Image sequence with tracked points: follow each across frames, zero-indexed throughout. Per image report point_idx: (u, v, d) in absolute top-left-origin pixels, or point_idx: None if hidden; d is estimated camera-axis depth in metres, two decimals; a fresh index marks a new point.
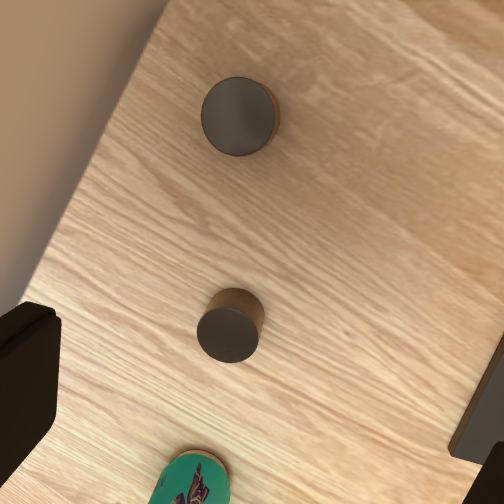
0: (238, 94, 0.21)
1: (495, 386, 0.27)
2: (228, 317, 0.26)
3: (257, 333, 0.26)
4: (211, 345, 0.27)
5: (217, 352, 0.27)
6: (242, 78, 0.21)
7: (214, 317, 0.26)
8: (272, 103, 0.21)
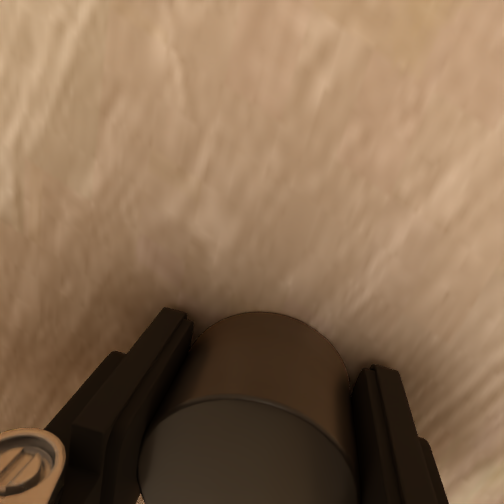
0: (180, 481, 0.07)
1: None
2: None
3: None
4: None
5: None
6: (138, 464, 0.07)
7: None
8: (201, 397, 0.07)
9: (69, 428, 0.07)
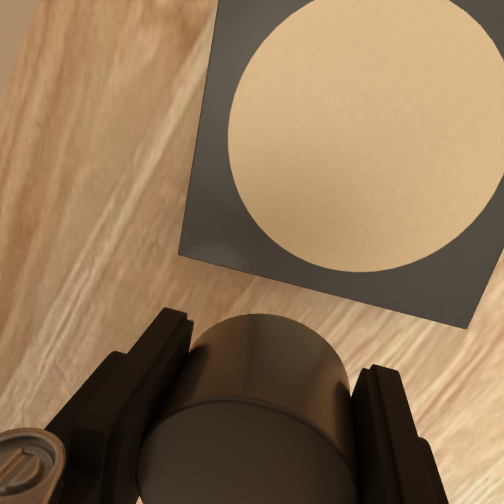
0: (179, 483, 0.07)
1: (352, 290, 0.22)
2: None
3: None
4: None
5: None
6: (137, 466, 0.07)
7: None
8: (200, 400, 0.07)
9: (69, 428, 0.07)
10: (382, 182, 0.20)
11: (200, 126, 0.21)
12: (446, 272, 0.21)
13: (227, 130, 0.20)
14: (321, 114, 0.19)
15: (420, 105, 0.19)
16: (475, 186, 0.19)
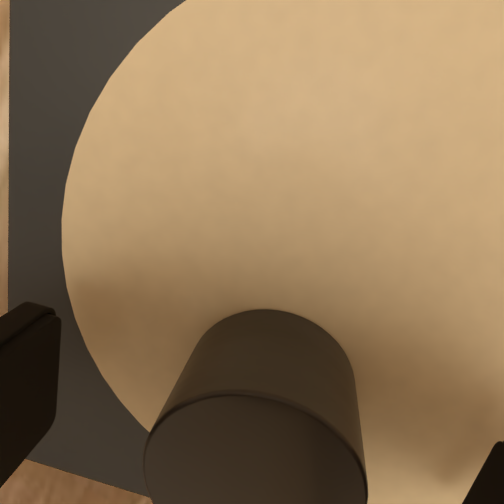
0: (186, 478, 0.07)
1: None
2: None
3: None
4: None
5: None
6: (145, 461, 0.07)
7: None
8: (208, 393, 0.07)
9: None
10: (381, 369, 0.09)
11: (11, 240, 0.10)
12: None
13: (64, 251, 0.10)
14: (248, 231, 0.09)
15: (469, 222, 0.08)
16: None
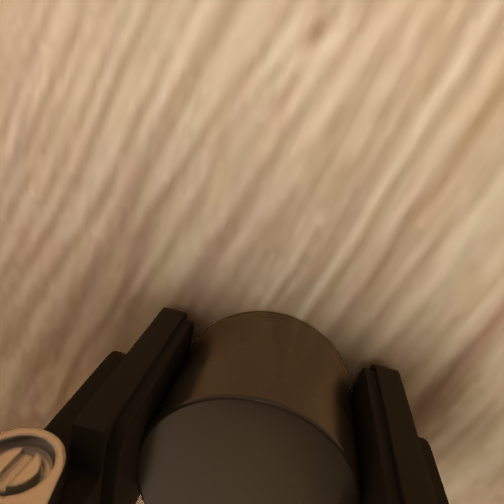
0: None
1: None
2: (169, 477, 0.07)
3: (222, 396, 0.07)
4: None
5: None
6: None
7: None
8: None
9: (69, 428, 0.07)
10: None
11: None
12: None
13: None
14: None
15: None
16: None
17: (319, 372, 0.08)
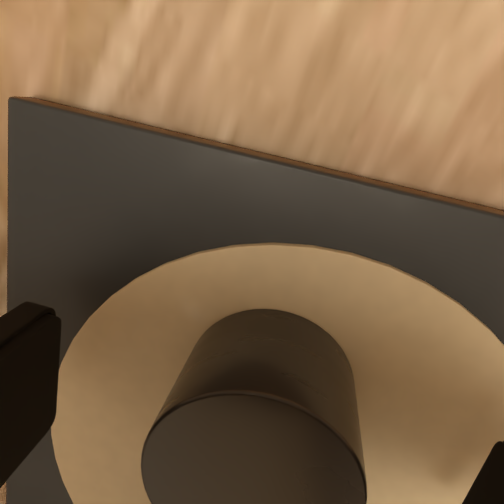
0: None
1: None
2: (174, 474, 0.07)
3: (228, 392, 0.07)
4: None
5: None
6: None
7: None
8: None
9: None
10: None
11: None
12: None
13: (53, 430, 0.12)
14: None
15: (378, 439, 0.10)
16: None
17: (324, 368, 0.08)
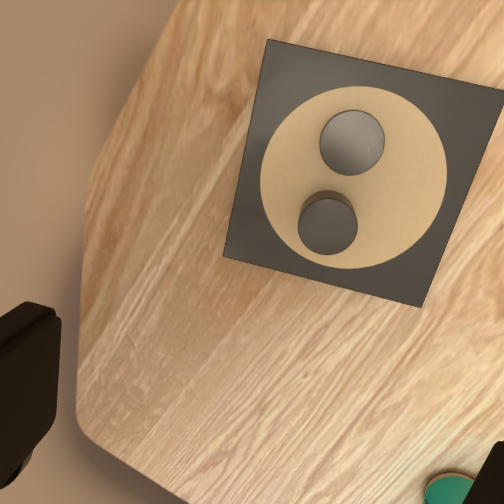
0: (310, 226, 0.28)
1: (343, 281, 0.32)
2: (330, 141, 0.26)
3: (348, 111, 0.25)
4: (363, 160, 0.26)
5: (371, 154, 0.26)
6: (299, 222, 0.28)
7: (330, 156, 0.26)
8: (318, 199, 0.27)
9: None
10: (362, 209, 0.30)
11: (241, 170, 0.31)
12: (406, 269, 0.31)
13: (260, 174, 0.31)
14: (322, 165, 0.30)
15: (386, 160, 0.29)
16: (423, 212, 0.30)
17: None
